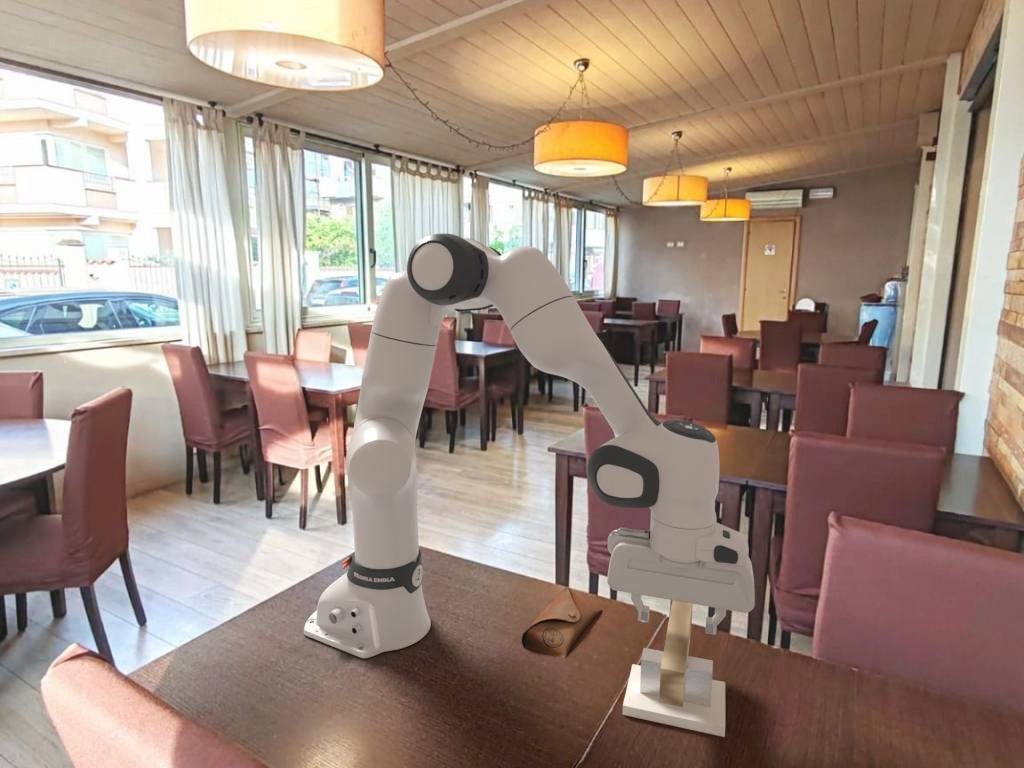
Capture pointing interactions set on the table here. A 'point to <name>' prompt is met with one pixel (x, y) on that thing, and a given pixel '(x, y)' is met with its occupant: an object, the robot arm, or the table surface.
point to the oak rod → (676, 654)
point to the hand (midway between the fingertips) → (676, 625)
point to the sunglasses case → (560, 624)
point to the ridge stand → (699, 700)
